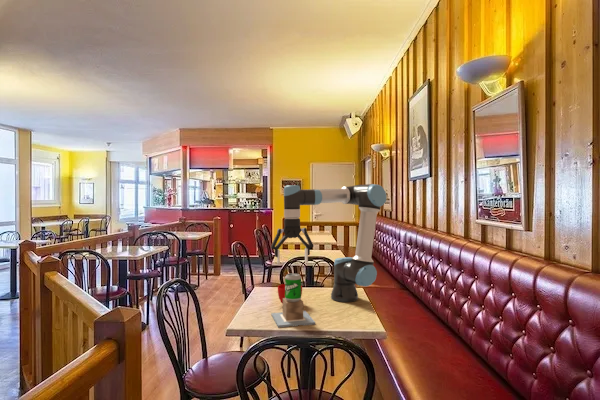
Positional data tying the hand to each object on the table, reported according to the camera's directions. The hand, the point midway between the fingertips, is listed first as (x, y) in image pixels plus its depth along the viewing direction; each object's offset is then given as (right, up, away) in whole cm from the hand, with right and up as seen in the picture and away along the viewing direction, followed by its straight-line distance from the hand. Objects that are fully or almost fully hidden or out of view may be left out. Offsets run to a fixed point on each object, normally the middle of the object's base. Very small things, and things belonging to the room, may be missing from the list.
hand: (292, 263), depth 172 cm
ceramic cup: (-2, -26, +23) cm, 35 cm away
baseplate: (0, -26, -2) cm, 26 cm away
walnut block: (0, -25, -2) cm, 25 cm away
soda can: (0, -17, -2) cm, 17 cm away
